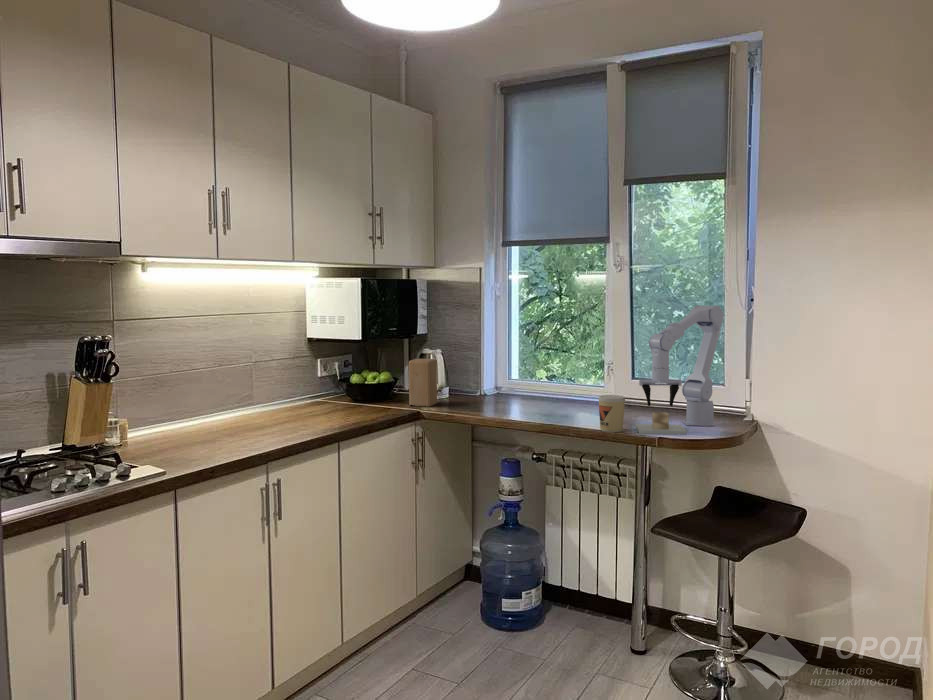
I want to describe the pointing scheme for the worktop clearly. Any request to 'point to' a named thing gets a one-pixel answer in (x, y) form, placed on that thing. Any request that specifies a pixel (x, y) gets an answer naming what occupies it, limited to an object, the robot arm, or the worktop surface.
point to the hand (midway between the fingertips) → (660, 405)
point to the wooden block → (423, 382)
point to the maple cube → (660, 420)
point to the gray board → (650, 430)
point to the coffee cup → (611, 412)
